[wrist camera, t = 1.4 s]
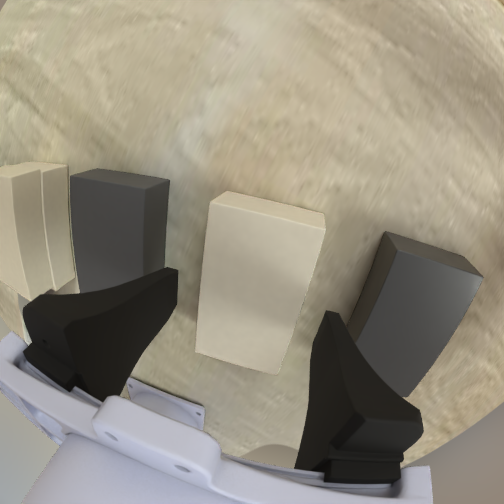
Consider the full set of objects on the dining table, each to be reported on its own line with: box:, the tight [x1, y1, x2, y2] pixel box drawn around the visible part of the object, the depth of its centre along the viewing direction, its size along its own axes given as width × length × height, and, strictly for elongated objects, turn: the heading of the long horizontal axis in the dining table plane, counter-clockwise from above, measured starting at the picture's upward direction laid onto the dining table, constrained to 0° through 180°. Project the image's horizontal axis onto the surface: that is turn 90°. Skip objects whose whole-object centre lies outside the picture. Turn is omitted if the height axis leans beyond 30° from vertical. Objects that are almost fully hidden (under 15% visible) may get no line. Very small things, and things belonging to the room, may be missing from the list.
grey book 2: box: [346, 231, 484, 397], centre depth 13 cm, size 9×6×2 cm, turn 169°
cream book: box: [195, 191, 326, 376], centre depth 14 cm, size 9×5×2 cm, turn 169°
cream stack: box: [0, 161, 75, 302], centre depth 15 cm, size 9×6×5 cm, turn 169°
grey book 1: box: [70, 168, 170, 293], centre depth 15 cm, size 9×6×2 cm, turn 169°
